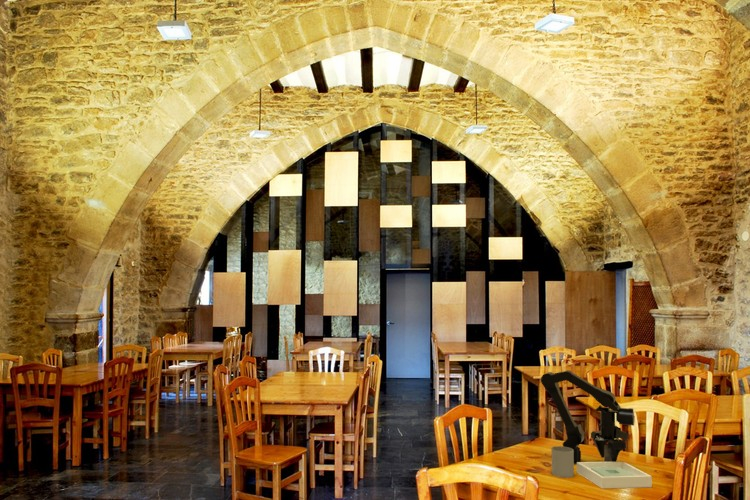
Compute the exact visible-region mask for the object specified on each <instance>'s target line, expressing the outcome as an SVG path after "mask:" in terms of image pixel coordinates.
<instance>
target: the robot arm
mask: <svg viewBox="0 0 750 500" xmlns="http://www.w3.org/2000/svg"><path fill="white" fill-rule="evenodd" d="M572 371H573V370H572ZM572 371H571V370H565V371H559V372H555V373H554V372H550V371H549V372H546V373H543V374H542V375H541V377H540V383H541V384H542V386H543V388H544V389H545V390H546V391H547V392H548V393H549V395H550V396H551V398H552V401H553V403H554V405H555V406H556V409H557V411H558V414H559V416H560V418H561V420H562V422H563V424H564V426H565V428H564V429H565V433H566V437H567V438H566V439H565V440H564V441H563V442H562V447H569V448H572V449H573V450H574V464H577V462H582V451H581V447H579V446H580V445H581V444H582V443H583V441H584V440H585V433H586V432H585V431H584V429H583V428H582V424H581V423H579V424H578V423H576V422H575V421H574V418H573V416H572V414H571V411H570V410H569V408H568V405H567V403H566V401H565V399H564V396H563V394H562V392H561V389H560V383H561V382H564V381H568V382H569V383H570V384H572V385H573V386H576V387H577V388H578V389H580V390H582V391H583V392H585V393H587V394H588V395H590V396H591V397H592V398H593V399H594V400H595V401H597V402H598V403H599V404H600V405H598V407H596V408H595V412H600V423H598V427H600V430H595V431H594V430H593V431H592V432H590V438H591V439H592V441H593V443H594V446H595V447H596V449H597V451H598V453H599V456H600V457H601V458H603V459H604V445H605V444H608V446H609V447H608V450H609V453H610V457H611V460H612V462H617V460H618V458H619V454H620V452H621V451H623V450H625V449H627V441H628V438H629V436H630V433H628V432H626V431H623V430H622V429H621V427H619V426H617V425H616V422H617V423H618V425H624V426H625V425H626V426H632V427H633V426H635V421H636V420H635V412H634V408H633V407H632V408H631V407H629V408H627V407H621V406H620V404H619V403H618V401H617V399H616V395H615V394H614V393H613V392H612V391H609V390H607V389H603V388H600V387H598V386H595V385H594V384H593V383H590V382H589V381H587V380H586V379H584V378H582V377H580V376H578V375H577V374H575V373H574V372H572Z"/></svg>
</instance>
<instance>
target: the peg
mask: <svg viewBox="0 0 750 500" xmlns="http://www.w3.org/2000/svg"><path fill="white" fill-rule="evenodd" d="M608 447H609V446H608V443H606V444H605V445H604V457H603V459H604V461H603V462H612V460H611V457H610V453H609V450H608Z"/></svg>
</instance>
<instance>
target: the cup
mask: <svg viewBox="0 0 750 500" xmlns="http://www.w3.org/2000/svg"><path fill="white" fill-rule="evenodd" d="M574 465H575V463H574V450H573V449H572V448H569V447H563V445H562V446H561V445H560V446H557V445H556V446H552V447H551V474H552V475H553V476H555V477H557V478H558V477H559V478H564V479H565V478H566V479H567V478H568V479H569V478H573V477H574V474H575V470H574V469H575V468H574Z"/></svg>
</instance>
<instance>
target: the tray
mask: <svg viewBox="0 0 750 500" xmlns="http://www.w3.org/2000/svg"><path fill="white" fill-rule="evenodd" d="M576 474H578V475H580V476H582V477H583V478H585V479H587V481H589V482H591V483H592V484H594V485H596V486H597V487H599V488H600V489H631V488H633V489H634V488H635V489H636V488H640V489H641V488H653V487H652V486H653V481H652V480H653V479H652V478H653V477H652V475H650V474H649V473H646V472H645V471H642V470H640V469H639V468H637V467H635V466H633V465H631V464H629V463H627V462H625V461H617V460H616V462H604V461H581V462H577V463H576Z"/></svg>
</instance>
